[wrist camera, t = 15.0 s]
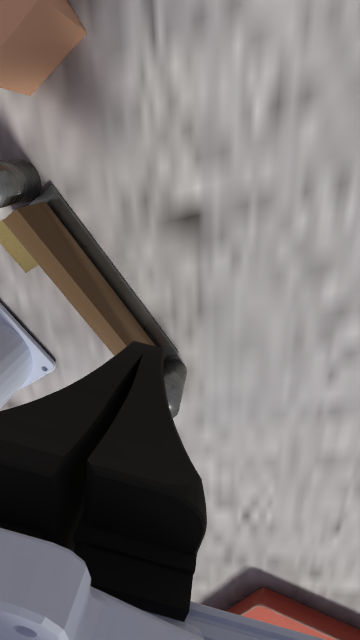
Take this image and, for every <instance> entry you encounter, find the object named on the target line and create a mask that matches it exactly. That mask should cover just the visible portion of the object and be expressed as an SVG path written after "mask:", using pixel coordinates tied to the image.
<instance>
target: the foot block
mask: <svg viewBox="0 0 360 640" xmlns="http://www.w3.org/2000/svg"><path fill="white" fill-rule="evenodd" d="M86 34H87V32H86V31H85V29H84V27H83V26H82V24H81V23H80V21H79V19H78V18H77V16H76V15H75V13H74V11H73V10H72V8H71V7H70V5H69V3H68V2H67V0H0V88H3V89H7V90H11V91H15V92H18V93H22V94H26V95H29V96H31V95H32V93H33V92H34V91H35V90H36V89H37V88H38V87H39V86H40V85H41V83H42V82H43V81H44V80H45V79H46V78H47V77H48V76H49V75H50V74H51V72H52V71H53V70H54V69H55V68H56V67H57V66H58V65H59V64H60V63H61V61H62V60H63V59H64V58H65V57H66V56H67V55H68V54H69V53H70V52H71V50H72V49H73V48H74V47H75V46H76V45H77V44H78V43H79V42H80V41H81V39H82V38H83V37H84V36H85V35H86Z"/></svg>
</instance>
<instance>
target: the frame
mask: <svg viewBox="0 0 360 640" xmlns="http://www.w3.org/2000/svg"><path fill="white" fill-rule="evenodd" d="M40 190H41V180H40V177H39V174H38V172H37V171H36V169H35V168H34V167H33V166H32V165H31V164H30V163H28V162H27V161H24V160H20V159H15V160H0V208H2V207H6V206H10V205H14V204H19V203H23V202H27V201H31V200H33V199H35V198H36V197H37V196H38V195H39V193H40ZM43 201H45V202H46V203H47V204H48V206H49V207H50V208H51V210H52V211H53V212H54V214H55V215H56V216H57V217H58V219H59V220H60V221H61V223H62V224H63V225H64V227H65V228H66V229H67V231H68V232H69V233H70V234H71V236H72V237H73V238H74V240H75V241H76V242H77V244H78V245H79V246H80V248H81V249H82V250H83V251H84V253H85V254H86V255H87V257H88V258H89V259H90V261H91V262H92V263H93V264H94V266H95V267H96V268H97V270H98V271H99V272H100V274H101V275H102V276H103V278H104V279H105V280H106V281H107V283H108V284H109V285H110V287H111V288H112V289H113V291H114V292H115V293H116V295H117V296H118V297H119V298H120V300H121V301H122V302H123V304H124V305H125V306H126V308H127V309H128V310H129V311H130V313H131V314H132V315H133V317H134V318H135V319H136V321H137V322H138V323H139V325H140V326H141V327H142V328H143V330H144V331H145V332H146V334H147V335H148V336H149V338H150V339H151V340H152V342H153V343H154V344H155V345H156V346H157V347H161V348H164V350H165V351H166V352H165V357H164V363H163V370H164V382H165V389H166V394H167V400H168V404H169V408H170V411H171V415H172V418H174V417H175V416H176V415H177V414H178V411H179V407H180V402H181V398H182V393H183V389H184V384H185V380H186V375H187V370H186V368H185V366H184V365H183V364H182V363H181V362H180V361H178V360H175V359H168V358H170V357H172V356H174V355H176V354H177V353H178V351H177V349H176V348H175V347H174V345H173V344H172V343H171V341H170V340H169V339H168V337H167V336H166V335H165V333H164V332H163V331H162V330H161V328H160V327H159V326H158V324H157V323H156V322H155V320H154V319H153V318H152V316H151V315H150V314H149V312H148V311H147V310H146V308H145V307H144V306H143V304H142V303H141V302H140V300H139V299H138V298H137V296H136V295H135V294H134V292H133V291H132V290H131V288H130V287H129V286H128V284H127V283H126V282H125V280H124V279H123V278H122V276H121V275H120V274H119V272H118V271H117V270H116V268H115V267H114V266H113V264H112V263H111V262H110V260H109V259H108V258H107V256H106V255H105V254H104V252H103V251H102V250H101V248H100V247H99V246H98V244H97V243H96V242H95V240H94V239H93V238H92V236H91V235H90V234H89V232H88V231H87V230H86V228H85V227H84V226H83V224H82V223H81V222H80V220H79V219H78V218H77V216H76V215H75V214H74V212H73V211H72V210H71V208H70V207H69V206H68V205H67V203H66V202H65V201H64V199H63V198H62V197H61V195H60V194H59V193H58V191H57V190H56V189H55V187H54V186H53V185H51V186H50V187H48V188H47V189H46V190H45V191H44V192H43V193H42V194H41V195H39V196H38V197H37V198H36V199H35V200H34V201H33V202H32V203H30V204H29V205H32V204H36V203H40V202H43ZM29 205H28V206H29ZM3 220H4V219H3ZM3 220H2V221H0V243H1V245H2V246H3V247H4V248H5V249H6V250H7V252H8V253H9V254H10V255H11V256H12V257H13V259H14V260H15V261H16V262H17V263H18V264H19V265H20V267H21V268H22V269H23V270H24V271H25V272H26V273H27V272H28V271H30V270H32V269H33V268H35V267H37V266H38V265H39V264H38V263H37V262H36V261H35V260H34V258H33V257H32V256H31V255H30V254H29V252H28V251H27V250H26V249H25V248H24V246H23V245H22V244H21V243H20V241H19V240H18V239H17V238H16V237H15V235H14V234H13V233H12V232H11V231H10V229H9V228H8V227H7V226H6V225H5V223H4V222H3Z"/></svg>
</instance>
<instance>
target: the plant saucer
mask: <svg viewBox="0 0 360 640" xmlns="http://www.w3.org/2000/svg"><path fill="white" fill-rule="evenodd" d="M226 611H227V612H230V613H234V614H237V615H241V616H244V617H248V618H251V619H255V620H259V621H262V622H266V623H269V624H273V625H276V626H280V627H283V628H287V629H290V630H294V631H298V632H301V633H305V634H308V635H312V636H315V637H319V638H322V639H326V640H360V630H359V629H357V628H354V627H352V626H350V625H348V624H345V623H343V622H341V621H339V620H336V619H334V618H332V617H330V616H327V615H325V614H323V613H321V612H319V611H316V610H314V609H312V608H310V607H307V606H305V605H303V604H301V603H298V602H296V601H294V600H292V599H290V598H287V597H285V596H283V595H281V594H278V593H276V592H274V591H272V590H270V589H267V588H260V589H258V590H256V591H255V592H253V593H252V594H250V595H249V596H247V597H246V598H244V599H243V600H241V601H240V602H239V603H237V604H235V605H234V606H232V607H231V608H229V609H228V610H226Z"/></svg>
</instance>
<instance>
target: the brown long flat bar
mask: <svg viewBox="0 0 360 640" xmlns="http://www.w3.org/2000/svg"><path fill="white" fill-rule="evenodd" d="M3 222H4V223H5V225H6V226H7V227H8V228H9V229H10V231H11V232H12V233H13V234H14V235H15V237H16V238H17V239H18V240H19V241H20V243H21V244H22V245H23V246H24V248H25V249H26V250H27V251H28V252H29V254H30V255H31V256H32V257H33V258H34V260H35V261H36V262H37V263H38V264H39V266H40V267H41V268H42V269H43V270H44V272H45V273H46V274H47V275H48V276H49V278H50V279H51V280H52V281H53V282H54V284H55V285H56V286H57V287H58V288H59V290H60V291H61V292H62V293H63V294H64V296H65V297H66V298H67V299H68V301H69V302H70V303H71V304H72V305H73V307H74V308H75V309H76V310H77V311H78V313H79V314H80V315H81V316H82V317H83V319H84V320H85V321H86V322H87V323H88V325H89V326H90V327H91V328H92V329H93V331H94V332H95V333H96V334H97V335H98V337H99V338H100V339H101V340H102V341H103V343H104V344H105V345H106V346H107V347H108V349H109V350H110V351H111V352H112V353H113V355H114V356H115V355H117V354H118V353H119V352H121V351H122V350H123V349H124V348H125V347H126V346H128V345H129V344H130V343H131V342H133V341H137V342H141V343H145V344H149V345H153V346H156V345H155V344H154V343H153V342H152V340H151V339H150V338H149V336H148V335H147V334H146V332H145V331H144V330H143V328H142V327H141V326H140V325H139V323H138V322H137V321H136V319H135V318H134V317H133V315H132V314H131V313H130V311H129V310H128V309H127V308H126V306H125V305H124V304H123V302H122V301H121V300H120V298H119V297H118V296H117V295H116V293H115V292H114V291H113V289H112V288H111V287H110V285H109V284H108V283H107V281H106V280H105V279H104V278H103V276H102V275H101V274H100V272H99V271H98V270H97V268H96V267H95V266H94V264H93V263H92V262H91V261H90V259H89V258H88V257H87V255H86V254H85V253H84V251H83V250H82V249H81V248H80V246H79V245H78V244H77V242H76V241H75V240H74V238H73V237H72V236H71V234H70V233H69V232H68V231H67V229H66V228H65V227H64V225H63V224H62V223H61V221H60V220H59V219H58V217H57V216H56V215H55V214H54V212H53V211H52V210H51V208H50V207H49V206H48V204H47V203H46V202H45V201H43V202H40V203H36V204H32V205H29V206H25V207H21V208H17V209H15V210H14V211H13V212H12V213H11V214H10V215H9V216H8V217H6V218H5V219H4V220H3Z"/></svg>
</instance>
